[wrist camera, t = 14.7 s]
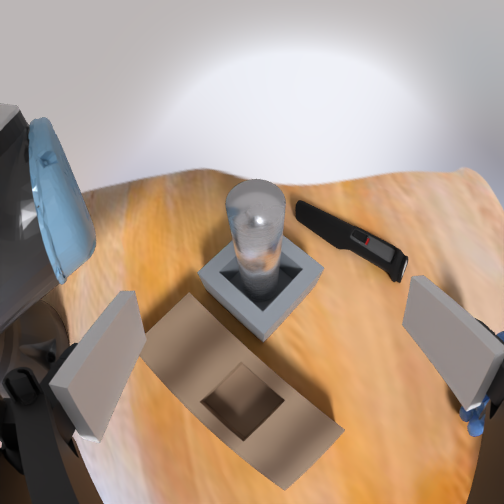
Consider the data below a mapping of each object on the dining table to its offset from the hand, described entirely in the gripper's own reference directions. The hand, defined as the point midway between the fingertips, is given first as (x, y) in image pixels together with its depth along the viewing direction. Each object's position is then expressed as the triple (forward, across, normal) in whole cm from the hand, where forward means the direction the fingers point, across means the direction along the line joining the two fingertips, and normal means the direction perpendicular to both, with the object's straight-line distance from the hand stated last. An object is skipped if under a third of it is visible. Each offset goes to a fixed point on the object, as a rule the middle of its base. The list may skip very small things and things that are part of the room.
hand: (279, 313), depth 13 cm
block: (+18, 0, -7) cm, 19 cm away
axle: (+17, 0, -6) cm, 18 cm away
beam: (+10, -3, -15) cm, 18 cm away
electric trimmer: (+21, +11, -4) cm, 24 cm away
